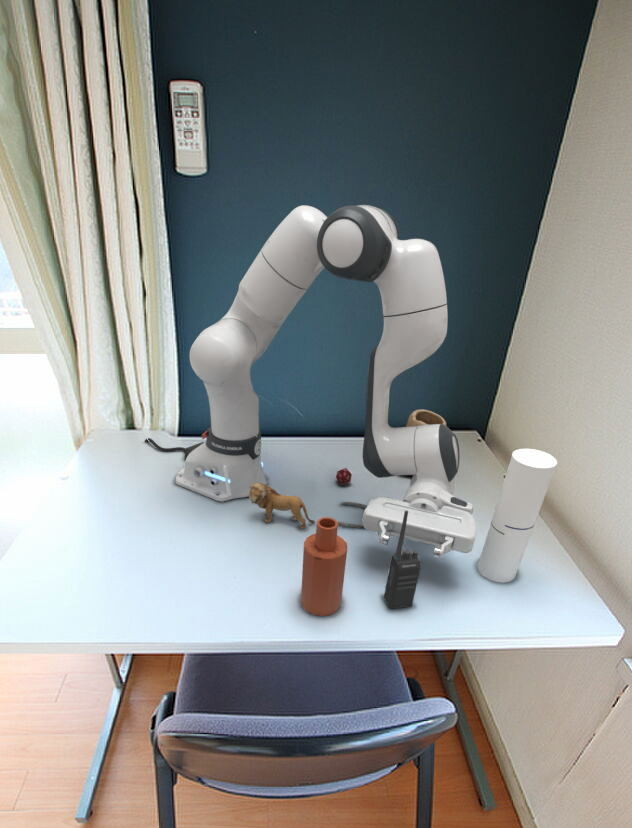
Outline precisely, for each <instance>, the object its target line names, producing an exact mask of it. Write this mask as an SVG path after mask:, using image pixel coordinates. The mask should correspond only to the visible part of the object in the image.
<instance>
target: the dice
mask: <svg viewBox="0 0 632 828" xmlns="http://www.w3.org/2000/svg"><path fill="white" fill-rule="evenodd" d="M335 479H336V480H337V482H338V483H339V484H340V485H341V486H343V485H346V484H348V483H350V482H352V473H351V472H350V471H349V469H348V468H347V467H343V468H342V469H340V470H337V471H336V475H335Z"/></svg>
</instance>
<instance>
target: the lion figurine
mask: <svg viewBox="0 0 632 828" xmlns="http://www.w3.org/2000/svg"><path fill="white" fill-rule="evenodd" d="M248 497H249V501H250V502H251V504H253V505H254V504H255V505H256V506H258V508H260V509H264V510H265V516H266V518H265V519H264V521H265V523H266V524H268V523H270V522H271V521H272V519H273V518H272V517H273V516H272V515H273V511H274V510H276V511H281V512H285V511H290V512H291V514H292V516H291V519H292V520H293V521H299V523H301V524H299V526H298V527H299V529H300V530H305V528H306V527H307V523H306V520H307V522H308V523H310V524H315V520H312V519H310V518H309V514H308V510H307V507H306V505H305V503H304V502H303V500H302V499H301V498H300V497H298V496H296V495H285V494H279V493H278V492H277V490H276V489H274V488H272V487H271V486H268V484H266V485H265V484H262V483H254V484H253V485H252V486H250V491H249V496H248ZM301 509H302V510H303V513H304V516H305V518H304V517H303V515H302V512H301Z"/></svg>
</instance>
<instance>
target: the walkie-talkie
mask: <svg viewBox="0 0 632 828" xmlns="http://www.w3.org/2000/svg"><path fill="white" fill-rule="evenodd" d="M407 517H408V511H407V510H405V513H404V518H403V522H402V527H401V532H400V537H398V542H397V547H396V551H395V555H391V558H390V563H389V569H388V574H387V579H386V584H385V589H384V594H383V598H384V601H385V602H386V605H387V607H388V608H389V609H391V610H392V609H399V608H406V607H411V606H413V603H414V598H415V594H416V590H417V586H418V582H419V576H420V572H421V566H422V561H421V559H420V558H419V557H418V556H419V551H418V550H416V549H413V551H412V552H411V550H409V549H404V550H403V545H404V539H405V538H404V534H405V528H406V523H407ZM402 551H403V553H402Z"/></svg>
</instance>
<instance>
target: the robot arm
mask: <svg viewBox="0 0 632 828" xmlns="http://www.w3.org/2000/svg"><path fill="white" fill-rule="evenodd" d="M323 270H326V271H327V272H328V273H330V274H331V275H333V276H334V277H337V278H339V279H342V280H347V281H355V282H363V283H374V284H375V285H376V286H377V288H378V290H379V294H380V299H381V306H382V317H383V327H382V334H381V337H380V340H379V343H378V344H377V345H376V346H374V347H373V348H372V349H371V352H370V355H369V359H368V365H367V366H368V367H367V377H366V393H365V394H366V396H365V424H364V436H363V445H362V455H361V456H362V462H363V466H364V468H365V469H366V470H367V471H368V472H369V473H371V474H372V475H373V476H374V477H376V478H378V479H382V478H390V477H396V476H412V477H411V480H410V482H409V485H408V488H407V490H406V491H405V494H404V496H403V498H402V500H399V499H394V498H390V497H385V496H377V497H374V498H371V499H370V500H369V501H368V503H367V507H366V509H365V508H364V510H363V515H362V522H361V524H363V526H364V527H363V528H364V529H365V530H370V531H374V532H377V534H378V536H379V544H380V545H384V546H388V545H389V543H390V539H391V536H395V537H397V538H399V537H400V532H401V527H402V522H403V518H404V513H405V510H407V511H408V517H407V523H406V528H405V534H404V539H406V540H409V541H414V542H418V543H422V544H426V545H431V546H435V548H434V551H433V555H432V557H433V558H437V559H440V560H442V558H443V556H444V555H445V554H447V553H450V552H451V551H456V552H459V553H462V554H467V553H471V552H472V551H473V548H474V545H475V541H476V537H477V521H476V517H475V515H473V512H474V505H473V504H472V503H470V502H468V501H465V500H464V499H461V498H459V497H456V496H455V495H454V492H455V485H456V475H457V474H458V471H459V468H460V456H461V455H460V445H459V440H458V437H457V436H456V434H455V433H454V432H453V430H451V429H450V428H449V427H448V426H447V425H446V426H445V425H444V424H431V425H419V426H411V427H406V426H400V427H392V426H390V425H389V406H390V389H391V385H392V383H393V381H394V379H396V377H397V376H399V375H400V374H402V373H404V372H405V371H407V370H409V369H410V368H412V367H414V366H416V365H418V364H420V363H422V362H423V361H426V360H427V359H428V358H429V357H431V356H432V355H433V354H435V353H436V352H437V350H439V348H440V347H441V346H442V344H443V343H444V341H445V339H446V337H447V335H448V323H449V322H448V320H449V319H448V317H449V316H448V315H449V313H448V299H447V289H446V281H445V276H444V271H443V266H442V261H441V258H440V255H439V251H438V249H437V247H436V246H435V244H434V243H432V242H431V241H429V240H426V239H424V238H409V239H401V234H400V229H399V225H398V223H397V222H396V219H395V218H394V217H393V216H392V215H391V214H390V213H389V212H388V211H386V210H385V209H382V208H378V207H376V206H373V205H369V204H360V205H359V204H358V205H345V206H342V207H339V208H338V209H336V210H334V211H333V212H331V213H330V214H329V215H328V216H327V215H325V214H324V212H322V211H321V210H319V209H318V208H316V207H314V206H311V205H306V204H305V205H303V204H302V205H299V206H297V207H295V208H294V209H293V210H291V211H290V212H289V213H288V215H286V217H284V218H283V220H282V221H281V222H280V223H279V224H278V226H276V228H275V229H274V231H273V232H272V234H270V236H269V237H268V239H267V240H266V242H265V243H264V244H263V246H262V248H261V249H260V251H259V252H258V253H257V255H256V257H255V259H254V260H253V262H252V263H251V265H250V266H249V267H248V270H247V271H246V273H244V276H243V277H242V279H241V280H240V282H239V284H238V291H237V293H236V296H235V298H234V300H233V302H232V304H231V306H230V308H229V309H228V311H227V313H225V315H224V316H223V317H221V318H220V319H219V320H218V321H217V322H215V323H214V324H212V325H210V326H208V327H206V328H205V329H203V330H202V331H201V332H200V333H199V335H198V336H197V337H196V339H194V342H193V343H192V344H191V346H190V350H189V362H190V366H191V369H192V370H193V372H194V374H195V375H196V376H197V377H198V378H199V379H200V380H202V382H203V385H204V387H205V391H206V395H207V398H208V404H209V414H210V427H207V429H205V431H204V433H203V434H201V436H202V437H201V440H204V439H206V440H205V441H201V442H198V443H196V444H193V445H189V446H188V447H181V446H177V447H169V448H168V447H162V446H160V445H158V443H156V442H155V441H154V440H153V439H152V438H151V437H147V438H148V440H149V441H148V440H147V438H145V439H144V443H148V442H150V444H152V445H153V447H155V448H156V449H157V450H159V451H162V452H175V451H176V452H177V451H183V452H184V465H183V467H182V468H181V469H180V470H179V471H178V472H177V474H176V476H175V484H176V485H177V486H180V487H182V488H185V489H187V490H189V491H191V492H192V491H193V492H195V493H196V494H197V493H198V494H199V495H202V496H205V497H207V498H209V499H212V500H214V501H216V502H222V503H223V502H227V501H231V500H233V499H241V498H247V497H249V491H250V486H252V485H253V484H254V483H262V484H265V485H267V479H266V475H265V473H264V469H263V467H264V462H263V461H262V457H261V454H262V429H261V428H260V400H259V396H258V394H257V393H256V391H254V386H253V383H252V378H251V369H252V366H253V364H255V363H256V362H257V361H259V359H260V358H261V357H262V356H264V353H265V352H266V350H267V349H268V347H269V346H270V345H271V343H272V341H273V340H274V338H275V337H276V335H277V334H278V332H279V331H280V329H281V328H282V326H283V324H284V322H285V321H286V320H287V318H288V317H289V315H290V314H291V312H292V311H293V310H294V309H295V307H296V306H297V304H298V303H299V302H300V300H301V299H302V298H303V296H304V295H305V293H306V292H307V291H308V289H309V288H310V287H311V285H312V284H313V283H314V281H315V280H316V278H317V277H318V276H319V275H320V274H321V272H322V271H323Z"/></svg>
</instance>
